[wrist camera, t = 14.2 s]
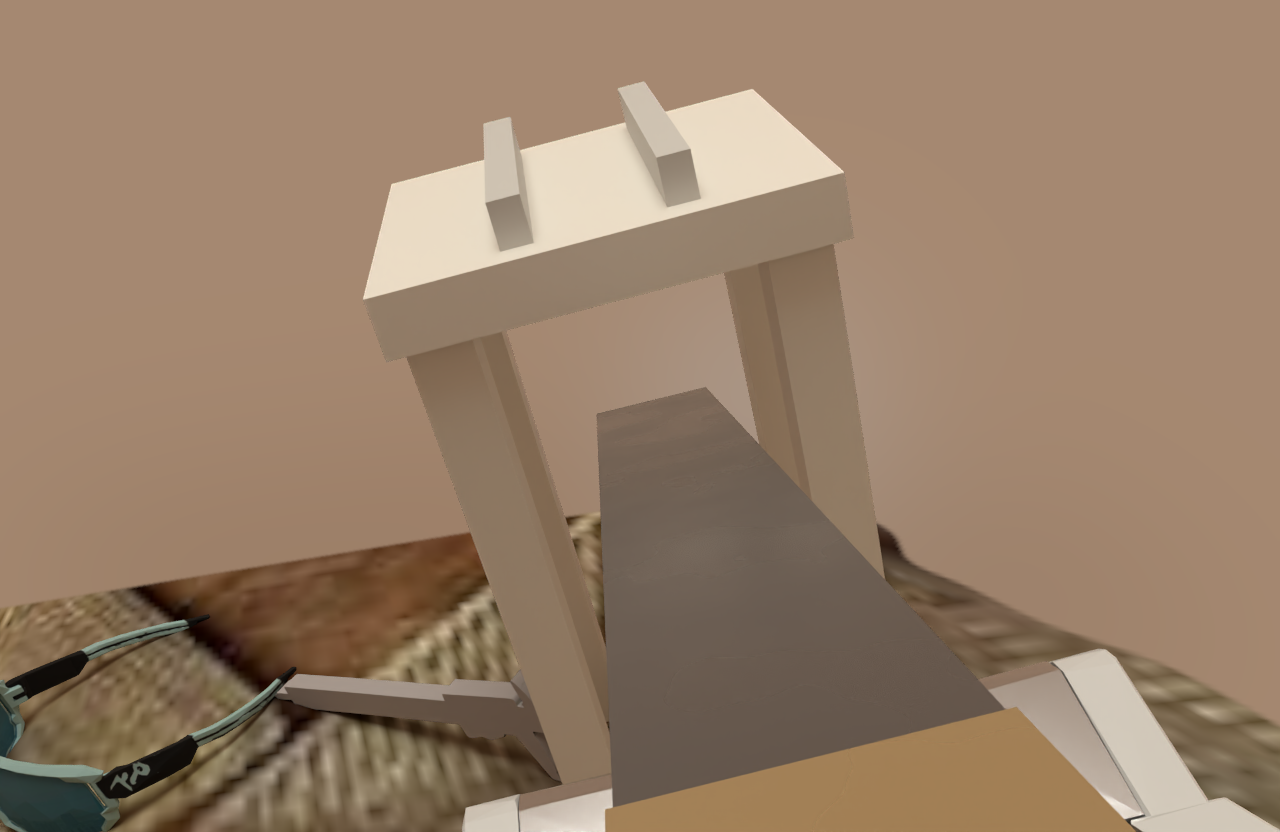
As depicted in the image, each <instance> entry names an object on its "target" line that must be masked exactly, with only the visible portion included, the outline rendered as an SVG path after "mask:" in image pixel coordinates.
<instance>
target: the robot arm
mask: <svg viewBox="0 0 1280 832" xmlns="http://www.w3.org/2000/svg"><path fill="white" fill-rule="evenodd" d="M978 680H979V681H980V682H981V683H982V684H983V685H984V686H985V687H986V688H987V690H988V691H989V692H990V693H991V694H992V695H993V696H994V697H995V698H996V699H997V700H998V701H999V702H1000V704H1001V705H1002V706H1003V707H1004V708H1005V709H1010V708H1014V707H1017V708H1018V709H1019V710H1020V711H1021V712H1022V713H1023V714H1024V715H1025V716H1026V717H1027V718H1028V719H1029V721H1030V722H1031V723H1032V724H1033V725H1034V726H1035V727H1036V728H1037V729H1038V730H1039V731H1040V732H1041V733H1042V734H1043V735H1044V736H1045V737H1046V738H1047V739H1048V740H1049V741H1050V742H1051V743H1052V744H1053V745H1054V747H1055V748H1056V749H1057V750H1058V751H1059V752H1060V753H1061V754H1062V755H1063V756H1064V757H1065V758H1066V759H1067V760H1068V761H1069V762H1070V763H1071V764H1072V765H1073V766H1074V767H1075V768H1076V769H1077V770H1078V772H1079V773H1080V774H1081V775H1082V776H1083V777H1084V778H1085V779H1086V780H1087V781H1088V782H1089V783H1090V784H1091V785H1092V786H1093V787H1094V788H1095V789H1096V790H1097V791H1098V792H1099V793H1100V794H1101V795H1102V796H1103V798H1104V799H1105V800H1106V801H1107V802H1108V803H1109V804H1110V805H1111V806H1112V807H1113V808H1114V809H1115V810H1116V811H1117V812H1118V813H1119V814H1120V815H1121V816H1122V817H1123V818H1124V819H1125V820H1126V821H1127V823H1128V824H1129V825H1130V826H1131V827H1132V828H1133V829H1134V830H1135V831H1136V832H1280V830H1279V829H1277V828H1276V827H1274V826H1272V825H1271V824H1269V823H1267V822H1266V821H1264V820H1262V819H1261V818H1259V817H1257V816H1256V815H1254V814H1252V813H1251V812H1249V811H1247V810H1246V809H1244V808H1242V807H1241V806H1239V805H1237V804H1236V803H1234V802H1232V801H1231V800H1229V799H1227V798H1226V797H1224V798H1219V799H1214V800H1209V801H1208V799H1207V797H1206V796H1205V794H1204V793H1203V791H1202V790H1201V788H1200V787H1199V785H1198V784H1197V782H1196V780H1195V779H1194V777H1193V776H1192V774H1191V773H1190V771H1189V770H1188V768H1187V767H1186V765H1185V763H1184V762H1183V760H1182V759H1181V757H1180V756H1179V754H1178V753H1177V751H1176V750H1175V748H1174V746H1173V745H1172V743H1171V742H1170V740H1169V739H1168V737H1167V736H1166V734H1165V733H1164V731H1163V729H1162V728H1161V726H1160V725H1159V723H1158V722H1157V720H1156V719H1155V717H1154V716H1153V714H1152V713H1151V711H1150V709H1149V708H1148V706H1147V705H1146V703H1145V702H1144V700H1143V699H1142V697H1141V696H1140V694H1139V692H1138V691H1137V689H1136V688H1135V686H1134V685H1133V683H1132V682H1131V680H1130V679H1129V677H1128V675H1127V674H1126V672H1125V671H1124V669H1123V668H1122V666H1121V665H1120V663H1119V662H1118V660H1117V658H1116V657H1114V656H1113V655H1112V654H1111V653H1109V652H1108V651H1107V650H1105V649H1096V650H1092V651H1088V652H1085V653H1081V654H1077V655H1073V656H1070V657H1066V658H1062V659H1059V660H1055V661H1051V662H1047V661H1044V662H1041V663H1037V664H1033V665H1030V666H1026V667H1022V668H1018V669H1015V670H1011V671H1007V672H1004V673H1000V674H996V675H992V676H989V677H985V678H981V679H978ZM609 808H613V801H612V776H611V773H609V774H605V775H601V776H596V777H592V778H588V779H584V780H580V781H576V782H571V783H567V784H563V785H559V786H555V787H551V788H546V789H542V790H538V791H534V792H530V793H526V794H518V795H514V796H510V797H506V798H502V799H498V800H495V801H491V802H487V803H483V804H479V805H475V806H471V807H467V808H466V810H465V816H464V821H463V826H462V832H605V809H609Z"/></svg>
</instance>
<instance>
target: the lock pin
mask: <svg viewBox="0 0 1280 832" xmlns="http://www.w3.org/2000/svg"><path fill="white" fill-rule="evenodd" d="M597 434H598V435H597V437H598V461H599V485H600V508H601V509H600V510H601V534H602V558H603V582H604V607H605V631H606V655H607V679H608V704H609V728H610V752H611V776H612V801H613V808H609V809H605V832H1136V831H1135V830H1134V829H1133V828H1132V827H1131V826H1130V825H1129V824H1128V823H1127V821H1126V820H1125V819H1124V818H1123V817H1122V816H1121V815H1120V814H1119V813H1118V812H1117V811H1116V810H1115V809H1114V808H1113V807H1112V806H1111V805H1110V804H1109V803H1108V802H1107V801H1106V800H1105V799H1104V798H1103V796H1102V795H1101V794H1100V793H1099V792H1098V791H1097V790H1096V789H1095V788H1094V787H1093V786H1092V785H1091V784H1090V783H1089V782H1088V781H1087V780H1086V779H1085V778H1084V777H1083V776H1082V775H1081V774H1080V773H1079V772H1078V770H1077V769H1076V768H1075V767H1074V766H1073V765H1072V764H1071V763H1070V762H1069V761H1068V760H1067V759H1066V758H1065V757H1064V756H1063V755H1062V754H1061V753H1060V752H1059V751H1058V750H1057V749H1056V748H1055V747H1054V745H1053V744H1052V743H1051V742H1050V741H1049V740H1048V739H1047V738H1046V737H1045V736H1044V735H1043V734H1042V733H1041V732H1040V731H1039V730H1038V729H1037V728H1036V727H1035V726H1034V725H1033V724H1032V723H1031V722H1030V721H1029V719H1028V718H1027V717H1026V716H1025V715H1024V714H1023V713H1022V712H1021V711H1020V710H1019V709H1018V708H1017V707H1014V708H1010V709H1005V708H1004V707H1003V706H1002V705H1001V704H1000V702H999V701H998V700H997V699H996V698H995V697H994V696H993V695H992V694H991V693H990V692H989V691H988V690H987V688H986V687H985V686H984V685H983V684H982V683H981V682H980V681H979V680H978V679H977V678H976V677H975V676H974V675H973V673H972V672H971V671H970V670H969V669H968V668H967V667H966V666H965V665H964V664H963V663H962V662H961V661H960V660H959V658H958V657H957V656H956V655H955V654H954V653H953V652H952V651H951V650H950V649H949V648H948V647H947V646H946V644H945V643H944V642H943V641H942V640H941V639H940V638H939V637H938V636H937V635H936V634H935V633H934V632H933V631H932V629H931V628H930V627H929V626H928V625H927V624H926V623H925V622H924V621H923V620H922V619H921V618H920V617H919V616H918V614H917V613H916V612H915V611H914V610H913V609H912V608H911V607H910V606H909V605H908V604H907V603H906V602H905V601H904V599H903V598H902V597H901V596H900V595H899V594H898V593H897V592H896V591H895V590H894V589H893V588H892V587H891V585H890V584H889V583H888V582H887V581H886V580H885V579H884V578H883V577H882V576H881V575H880V574H879V573H878V572H877V570H876V569H875V568H874V567H873V566H872V565H871V564H870V563H869V562H868V561H867V560H866V559H865V558H864V557H863V555H862V554H861V553H860V552H859V551H858V550H857V549H856V548H855V547H854V546H853V545H852V544H851V543H850V541H849V540H848V539H847V538H846V537H845V536H844V535H843V534H842V533H841V532H840V531H839V530H838V529H837V528H836V526H835V525H834V524H833V523H832V522H831V521H830V520H829V519H828V518H827V517H826V516H825V515H824V514H823V513H822V511H821V510H820V509H819V508H818V507H817V506H816V505H815V504H814V503H813V502H812V501H811V500H810V499H809V497H808V496H807V495H806V494H805V493H804V492H803V491H802V490H801V489H800V488H799V487H798V486H797V485H796V484H795V482H794V481H793V480H792V479H791V478H790V477H789V476H788V475H787V474H786V473H785V472H784V471H783V470H782V469H781V467H780V466H779V465H778V464H777V463H776V462H775V461H774V460H773V459H772V458H771V457H770V456H769V455H768V454H767V452H766V451H765V450H764V449H763V448H762V447H761V446H760V445H759V444H758V443H757V442H756V441H755V440H754V438H753V437H752V436H751V435H750V434H749V433H748V432H747V431H746V430H745V429H744V428H743V427H742V426H741V425H740V423H738V421H737V420H736V419H735V418H734V417H733V416H732V415H731V414H730V413H729V412H728V411H727V410H726V408H725V407H724V406H723V405H722V404H721V403H720V402H719V401H718V400H717V399H716V398H715V397H714V396H713V395H712V394H711V392H710V391H709V390H708V389H707V388H706V387H705V388H701V389H696V390H692V391H688V392H684V393H680V394H676V395H672V396H668V397H664V398H659V399H655V400H652V401H647V402H644V403H639V404H636V405H631V406H627V407H623V408H619V409H615V410H611V411H607V412H603V413H598V414H597Z"/></svg>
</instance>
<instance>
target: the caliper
mask: <svg viewBox="0 0 1280 832" xmlns="http://www.w3.org/2000/svg"><path fill="white" fill-rule="evenodd" d="M275 697H276V698H278V699H284V700H292V701H293V702H294V703H295V704H299V705H302V706H305V707H309V708H312V709H316V710H326V711H337V712H347V713H357V714H367V715H377V716H387V717H396V718H405V719H414V720H424V721H433V722H442V723H451V724H459V725H460V726H461V728H462V729H463V731H464V732H465V734H466V735H467V736H468V737H470V738H477V737H484V738H487V739H490V740H494V739H498V738H502V737H505V735H513V736H516V737H517V738H518V739H519V741H520V742H521V743H522V744H523V745H524V746H525V748H526V749H527V750H528V751H529V752H530V753H531V755H532V756H533V757H534V758H535V759H536V760H537V761H538V763H539V764H540V765H541V766H542V767H543V768H544V770H545V771H546V772H547V773H548V774H549V775H550V777H551V778H552V779H554V780H558V781H561V779H560V776H559V773H558V770H557V768H556V765H555V762H554V760H553V757H552V754H551V751H550V749H549V746H548V743H547V740H546V738H545V735H544V732H543V729H542V727H541V724H540V721H539V718H538V716H537V713H536V710H535V708H534V705H533V702H532V699H531V697H530V694H529V691H528V688H527V686H526V683H525V680H524V677H523V675H522V672H521V669H520V670H519V671H518V673H517V674H516V675H515V676H514V677H513V679H512V680H511V681H510V682H496V681H478V680H460V679H455V680H454V681H453V682H452V683H451V684H450V685H437V684H424V683H411V682H398V681H385V680H372V679H359V678H346V677H332V676H318V675H304V674H296V675H295V676H294V677H293V678H292V679H291V680H289V681H288V682H287V683H286V684H285V685H284V686H283V687H282V688H281V689H280V690H279V691H278V692H277V694H276V695H275ZM561 782H562V781H561Z"/></svg>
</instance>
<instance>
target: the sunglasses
mask: <svg viewBox="0 0 1280 832" xmlns="http://www.w3.org/2000/svg"><path fill="white" fill-rule="evenodd" d="M208 618H209V614H208V615H204V616H200V617H195V618H191V619H187V620H182V621H175V622H169V623H164V624H160V625H156V626H152V627H148V628H145V629H141V630H137V631H133V632H129V633H125V634H122V635H119V636H116V637H113V638H110V639H107V640H104V641H101V642H97V643H95V644H93V645H90V646H88V647H86V648H84V649H82V650H80V651H77V652H75V653H73V654H70V655H68V656H65V657H63V658H60V659H58V660H55V661H53V662H50V663H48V664H45V665H43V666H40V667H38V668H36V669H33V670H31V671H29V672H26V673H24V674H22V675H20V676H17V677H15V678H13V679H11V680H9V681H8V682H6V683H5V682H4V680H0V702H1V703H2V704H3V705H2V704H1V703H0V819H1V820H2V822H3V823H4V824H5V825H6V826H8V827H10V828H12V829H14V830H16V831H17V832H101V831H103V832H106V831H108V830H110V828H111V827H112V826H113V825H114V824H115V823H116V822H117V821H118V819H119V818H120V814H119V809H118V807H119V800H118V798H126V797H128V796H130V795H132V794H134V793H136V792H138V791H140V790H142V789H144V788H146V787H148V786H150V785H152V784H154V783H156V782H158V781H160V780H162V779H164V778H166V777H168V776H170V775H172V774H174V773H175V772H177V771H179V770H181V769H182V768H184V767H186V766H188V765H189V764H191V761H192V759H193V757H194V755H195V753H196V750H197V748H198V747H199V746H202V745H204V744H206V743H208V742H211V741H213V740H215V739H217V738H219V737H222V736H224V735H225V734H227V733H228V732H230V731H231V730H233V729H234V728H236V727H237V726H239V725H240V724H242V723H243V722H245V721H246V720H247V719H249V718H250V717H251V716H253V715H254V714H256V713H257V712H258V711H260V710H261V709H262V708H264V707H265V706H266V705H267V704H268V703H269V702H270V701H271V700H272V699H273V698H274V697H275V695H276V694H277V692H278V691H279V690H280V689H281V688H282V687H283V685H284V684H285V683H286V681H287V677H288V676H289V675H290V674H293V673H294V672H295V671H296V667H292V668H290V669H289V670H288V671H286V672H285V673H283V674H282V675H281V676H279V677H278V678H277V679H276V680H275V681H274V682H273V683H272V684H271V685H270V686H269V687H268V688H267V689H266V690H264V691H263V692H262V693H261V694H259V695H258V696H257V697H255V698H254V699H253V700H252V701H250V702H249V703H247V704H246V705H245V706H243V707H242V708H240V709H239V710H237V711H236V712H234V713H232V714H231V715H229V716H228V717H226V718H225V719H223V720H221V721H219V722H217V723H215V724H214V725H212V726H210V727H208V728H205V729H202V730H200V731H197V732H194V733H192V734H189V735H187V736H186V737H184V738H183V739H181V740H180V741H178V742H176V743H174V744H172V745H169V746H167V747H165V748H163V749H161V750H158V751H156V752H154V753H152V754H150V755H147V756H145V757H143V758H141V759H139V760H136V761H134V762H132V763H130V764H128V765H123V766H119V767H116V768H114V769H113V770H111V771H110V772H108V773H106V774H103V772H104V771H102V770H99V769H95V768H92V767H89V766H85V765H41V764H34V763H28V762H21V761H15V760H11V759H8V758H6V756H7V754H8V752H9V750H10V751H11V750H12V748H13V747H14V745H15V744H16V742H17V741H18V740H19V739H20V737H21V736H22V734H23V731H24V725H25V723H24V721H23V719H22V716H21V714H20V711H19V704H21V703H23V702H25V701H27V700H28V699H30V698H31V697H32V696H34V695H36V694H38V693H40V692H43V691H45V690H47V689H49V688H51V687H53V686H56V685H58V684H60V683H62V682H64V681H66V680H69V679H71V678H73V677H75V676H77V675H79V674H80V672H81V671H82V669H83V668H84V666H85V665H86V663H87V662H88V661H90V660H92V659H94V658H97V657H99V656H101V655H103V654H105V653H107V652H109V651H112V650H115V649H118V648H121V647H124V646H127V645H130V644H134V643H137V642H140V641H144V640H147V639H151V638H154V637H158V636H163V635H167V634H172V633H176V632H179V631H182V630H184V629H187V628H189V627H192V626H194V625H196V624H197V621H200V620H204V619H205V620H206V619H208ZM3 706H4V707H5V708H6V709H5V708H4V707H3ZM6 710H7V711H8V712H7V711H6ZM10 748H11V749H10ZM9 753H10V752H9ZM87 783H89V784H90V786H91V787H92V788H93V790H94V791H95V792H96V793H97V795H98V796H99V797H100V799H101V800H102V801H103V803H104V804H105V806H104V805H103V804H102V803H101V801H100V800H99V799H98V798H97V796H96V795H95V794H94V792H93V791H92V790H91V789H90V787H89V786H88V785H87Z"/></svg>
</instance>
